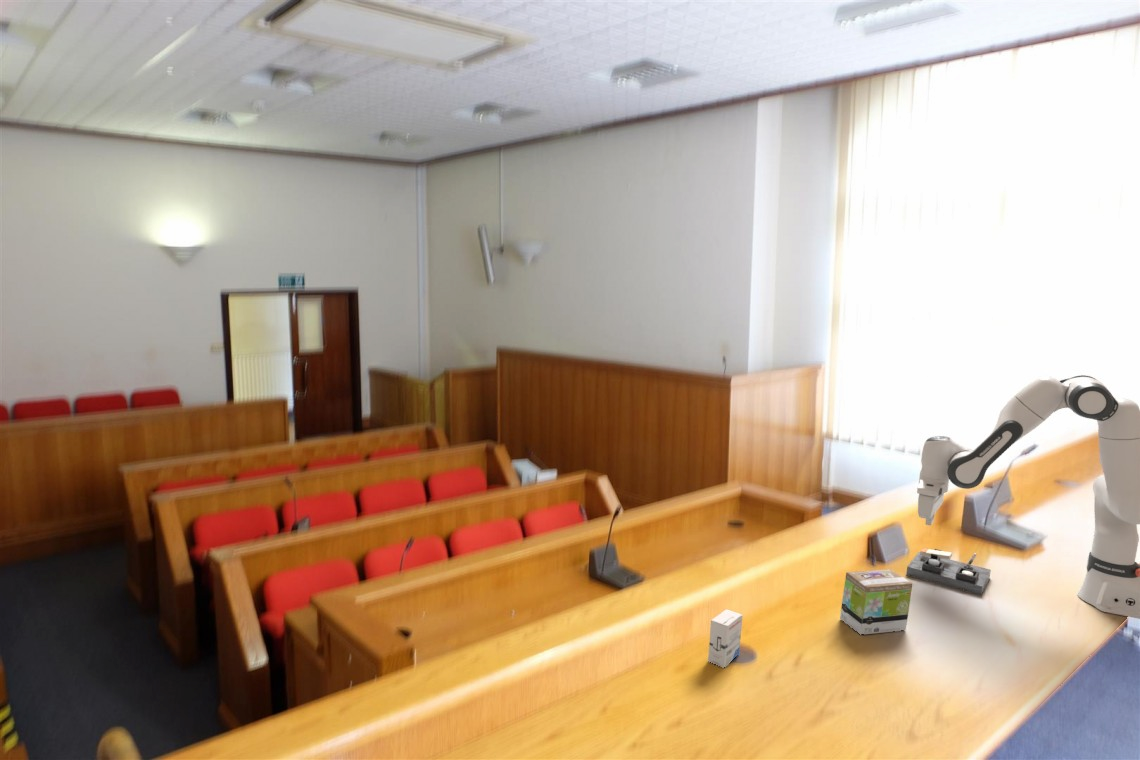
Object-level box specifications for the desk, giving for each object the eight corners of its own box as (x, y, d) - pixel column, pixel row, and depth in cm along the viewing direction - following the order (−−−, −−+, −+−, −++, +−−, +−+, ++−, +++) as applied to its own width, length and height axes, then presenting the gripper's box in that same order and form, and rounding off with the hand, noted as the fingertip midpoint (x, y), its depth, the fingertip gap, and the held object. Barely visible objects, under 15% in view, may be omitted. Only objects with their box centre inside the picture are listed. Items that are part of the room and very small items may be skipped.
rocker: (951, 559, 254) (951, 551, 254) (949, 562, 251) (949, 555, 251) (922, 554, 259) (922, 547, 259) (920, 558, 256) (920, 551, 256)
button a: (973, 576, 243) (974, 572, 243) (971, 579, 240) (972, 575, 240) (962, 573, 245) (963, 569, 245) (960, 576, 242) (961, 573, 242)
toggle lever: (969, 566, 250) (977, 554, 248) (969, 567, 249) (977, 555, 247) (966, 564, 250) (974, 552, 248) (965, 565, 249) (973, 553, 248)
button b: (940, 564, 249) (940, 560, 248) (937, 567, 246) (938, 563, 246) (929, 561, 250) (929, 558, 250) (927, 564, 248) (927, 561, 248)
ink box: (722, 648, 201) (726, 607, 199) (740, 655, 198) (743, 613, 196) (706, 662, 194) (709, 619, 192) (724, 669, 191) (727, 626, 189)
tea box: (861, 637, 209) (866, 586, 207) (839, 619, 219) (844, 571, 216) (907, 631, 213) (913, 582, 211) (883, 614, 223) (889, 566, 220)
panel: (989, 578, 250) (991, 561, 249) (981, 595, 237) (983, 578, 236) (917, 559, 263) (919, 543, 262) (906, 575, 250) (908, 558, 249)
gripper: (930, 475, 263) (926, 513, 265) (916, 489, 247) (911, 530, 249) (950, 478, 259) (946, 517, 262) (937, 493, 243) (932, 534, 245)
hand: (929, 523), depth 255 cm, fingers closed
